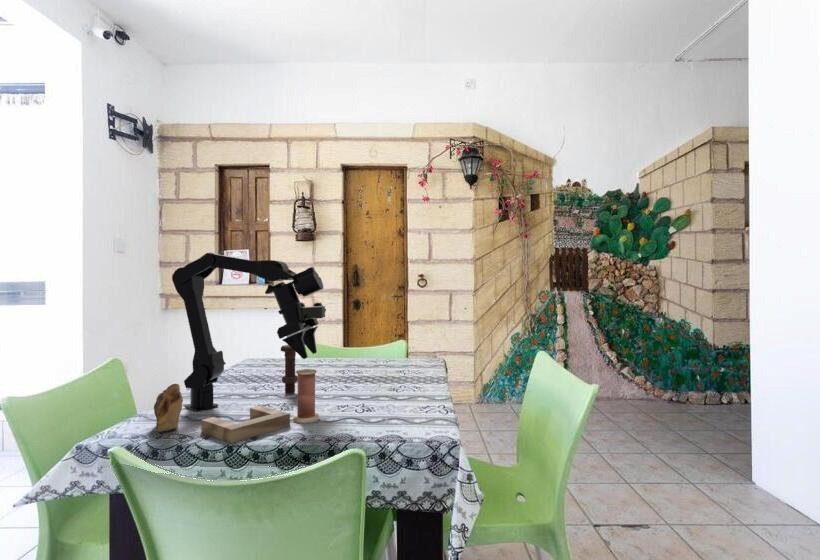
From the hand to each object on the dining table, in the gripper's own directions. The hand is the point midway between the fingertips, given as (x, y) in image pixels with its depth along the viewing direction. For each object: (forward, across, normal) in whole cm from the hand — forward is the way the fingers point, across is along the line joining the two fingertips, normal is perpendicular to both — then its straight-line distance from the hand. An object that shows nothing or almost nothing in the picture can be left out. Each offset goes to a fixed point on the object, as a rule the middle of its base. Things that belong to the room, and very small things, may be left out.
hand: (310, 355), depth 131 cm
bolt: (+9, +19, +17) cm, 27 cm away
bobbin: (+14, -9, +4) cm, 17 cm away
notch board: (+10, -18, +15) cm, 26 cm away
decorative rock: (+3, -19, +32) cm, 38 cm away
